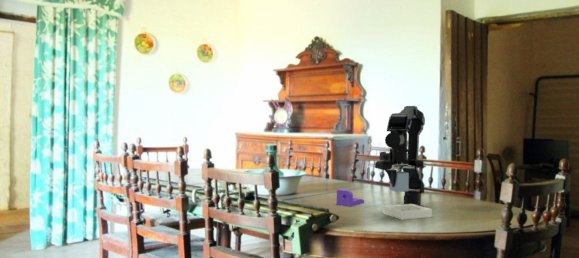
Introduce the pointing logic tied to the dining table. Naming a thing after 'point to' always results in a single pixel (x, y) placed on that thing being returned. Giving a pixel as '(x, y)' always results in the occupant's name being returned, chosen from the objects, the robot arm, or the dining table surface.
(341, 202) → the bracket
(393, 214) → the well
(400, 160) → the robot arm
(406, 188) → the block
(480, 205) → the dining table surface
